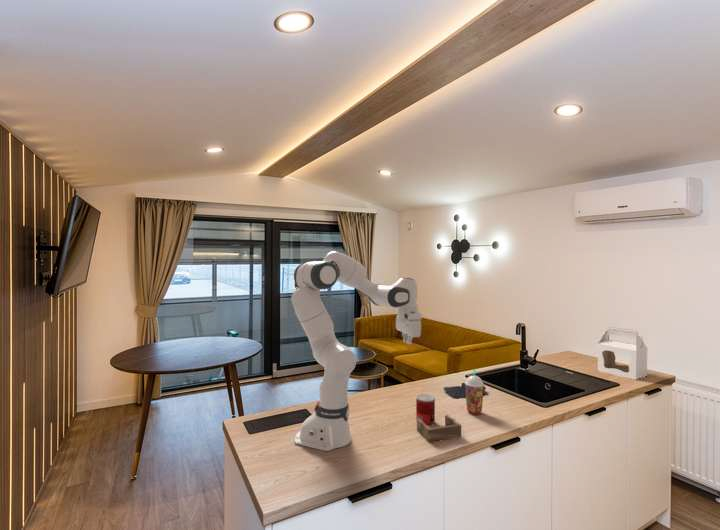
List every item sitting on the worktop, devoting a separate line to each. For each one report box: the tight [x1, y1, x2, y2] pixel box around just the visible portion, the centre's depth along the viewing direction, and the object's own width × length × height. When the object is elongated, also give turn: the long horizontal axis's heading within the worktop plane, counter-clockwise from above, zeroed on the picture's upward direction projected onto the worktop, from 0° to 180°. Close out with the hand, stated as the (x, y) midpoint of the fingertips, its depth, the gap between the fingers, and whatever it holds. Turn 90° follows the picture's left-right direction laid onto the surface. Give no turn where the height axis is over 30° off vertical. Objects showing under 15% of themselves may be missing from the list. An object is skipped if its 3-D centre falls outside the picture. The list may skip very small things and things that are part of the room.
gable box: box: [597, 326, 648, 380], centre depth 237 cm, size 22×13×28 cm, turn 31°
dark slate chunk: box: [443, 382, 489, 400], centre depth 205 cm, size 15×22×5 cm
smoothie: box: [464, 369, 485, 416], centre depth 178 cm, size 8×8×20 cm
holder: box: [416, 414, 462, 443], centre depth 157 cm, size 11×14×5 cm
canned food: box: [415, 394, 436, 427], centre depth 168 cm, size 8×8×11 cm
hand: (407, 343), depth 175 cm, fingers open, 2 cm apart
